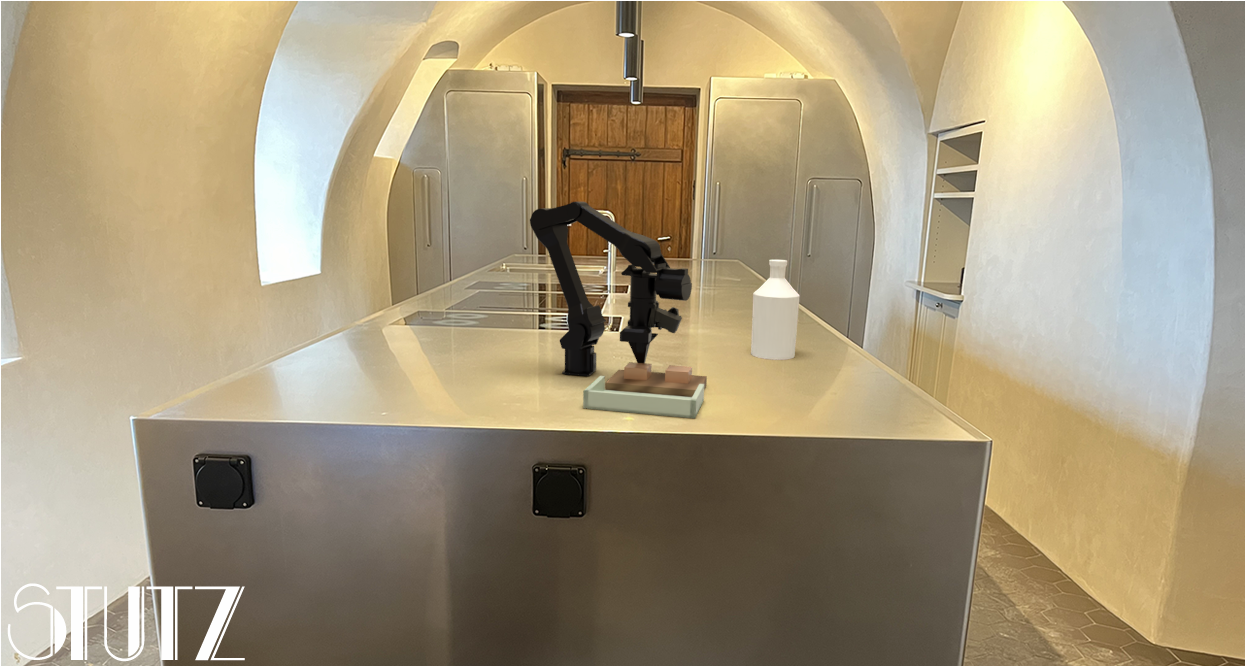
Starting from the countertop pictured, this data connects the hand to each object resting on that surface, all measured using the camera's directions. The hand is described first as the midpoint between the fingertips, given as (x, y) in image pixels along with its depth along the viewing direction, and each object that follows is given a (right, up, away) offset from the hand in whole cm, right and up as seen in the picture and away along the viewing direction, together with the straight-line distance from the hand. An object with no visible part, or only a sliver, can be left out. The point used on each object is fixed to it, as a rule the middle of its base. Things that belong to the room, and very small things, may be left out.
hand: (641, 366), depth 161 cm
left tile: (-1, -2, -3) cm, 4 cm away
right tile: (+8, -3, -5) cm, 10 cm away
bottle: (+35, +1, +30) cm, 47 cm away
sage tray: (0, -7, -16) cm, 18 cm away
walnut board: (+3, -5, -4) cm, 7 cm away
